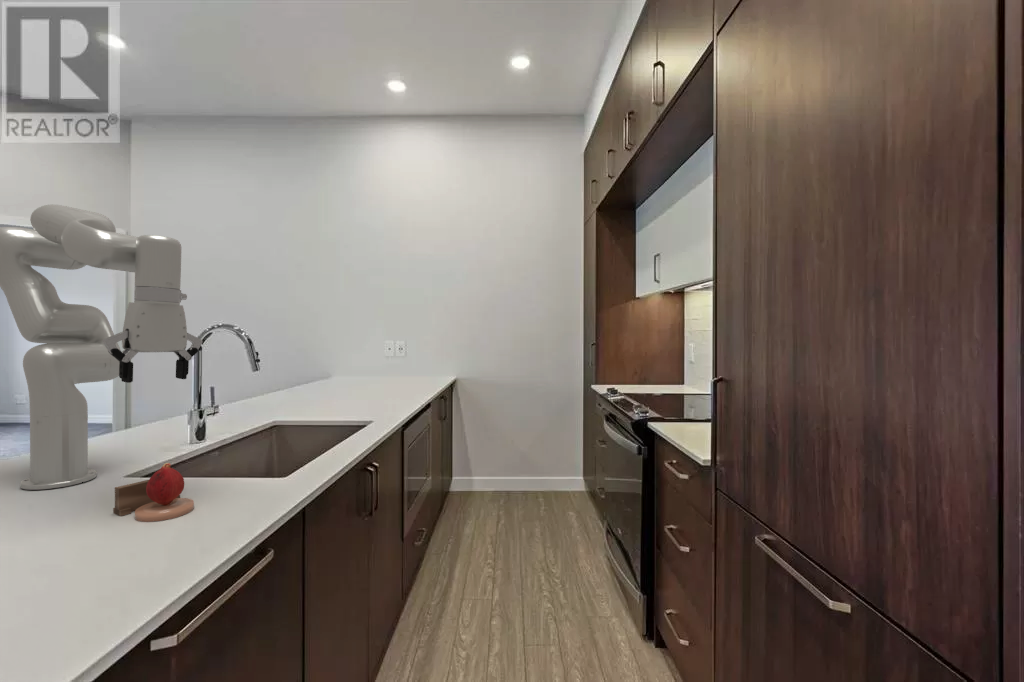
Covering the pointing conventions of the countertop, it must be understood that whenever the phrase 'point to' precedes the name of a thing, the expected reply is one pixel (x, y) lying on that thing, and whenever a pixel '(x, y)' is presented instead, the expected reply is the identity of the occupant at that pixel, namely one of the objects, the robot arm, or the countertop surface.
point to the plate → (164, 510)
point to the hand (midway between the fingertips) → (155, 380)
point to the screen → (131, 497)
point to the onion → (165, 485)
